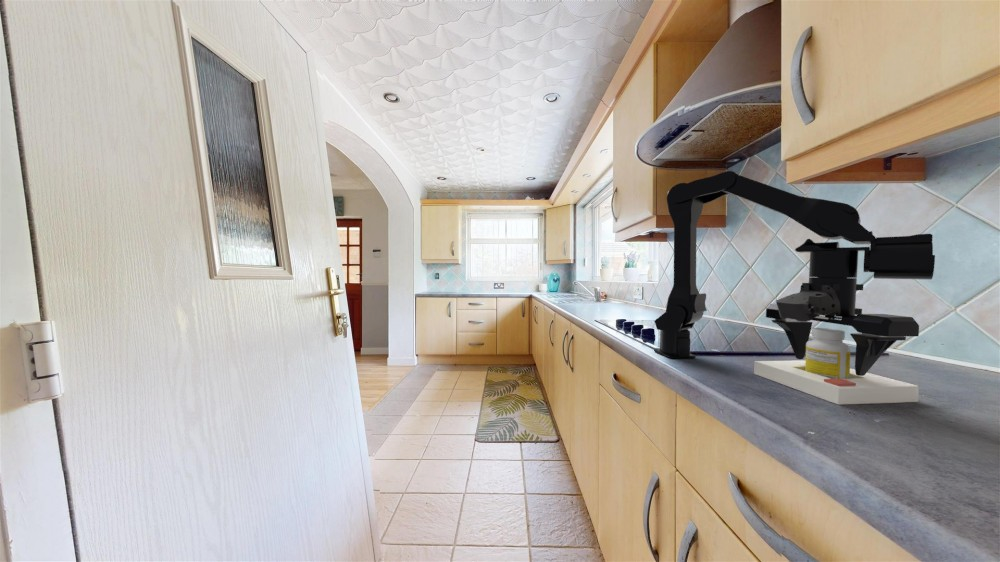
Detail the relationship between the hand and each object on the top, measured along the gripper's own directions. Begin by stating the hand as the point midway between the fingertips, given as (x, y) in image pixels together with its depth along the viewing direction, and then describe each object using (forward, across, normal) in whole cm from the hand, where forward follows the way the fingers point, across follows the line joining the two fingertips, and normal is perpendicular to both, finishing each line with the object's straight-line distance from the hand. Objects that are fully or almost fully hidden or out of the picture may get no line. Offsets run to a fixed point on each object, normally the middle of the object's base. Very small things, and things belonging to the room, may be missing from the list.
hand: (827, 366), depth 55 cm
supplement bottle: (+4, 0, 0) cm, 4 cm away
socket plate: (+4, 0, 0) cm, 4 cm away
